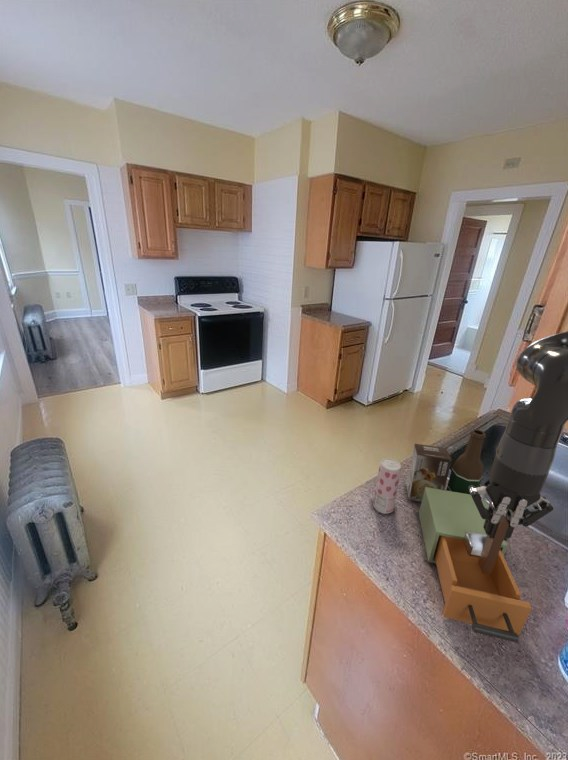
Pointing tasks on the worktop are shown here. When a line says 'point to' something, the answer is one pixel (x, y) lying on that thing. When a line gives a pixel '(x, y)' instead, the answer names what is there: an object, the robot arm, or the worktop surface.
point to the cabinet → (449, 518)
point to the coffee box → (427, 470)
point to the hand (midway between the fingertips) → (495, 535)
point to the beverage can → (387, 485)
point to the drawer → (479, 592)
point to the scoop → (486, 545)
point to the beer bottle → (468, 465)
